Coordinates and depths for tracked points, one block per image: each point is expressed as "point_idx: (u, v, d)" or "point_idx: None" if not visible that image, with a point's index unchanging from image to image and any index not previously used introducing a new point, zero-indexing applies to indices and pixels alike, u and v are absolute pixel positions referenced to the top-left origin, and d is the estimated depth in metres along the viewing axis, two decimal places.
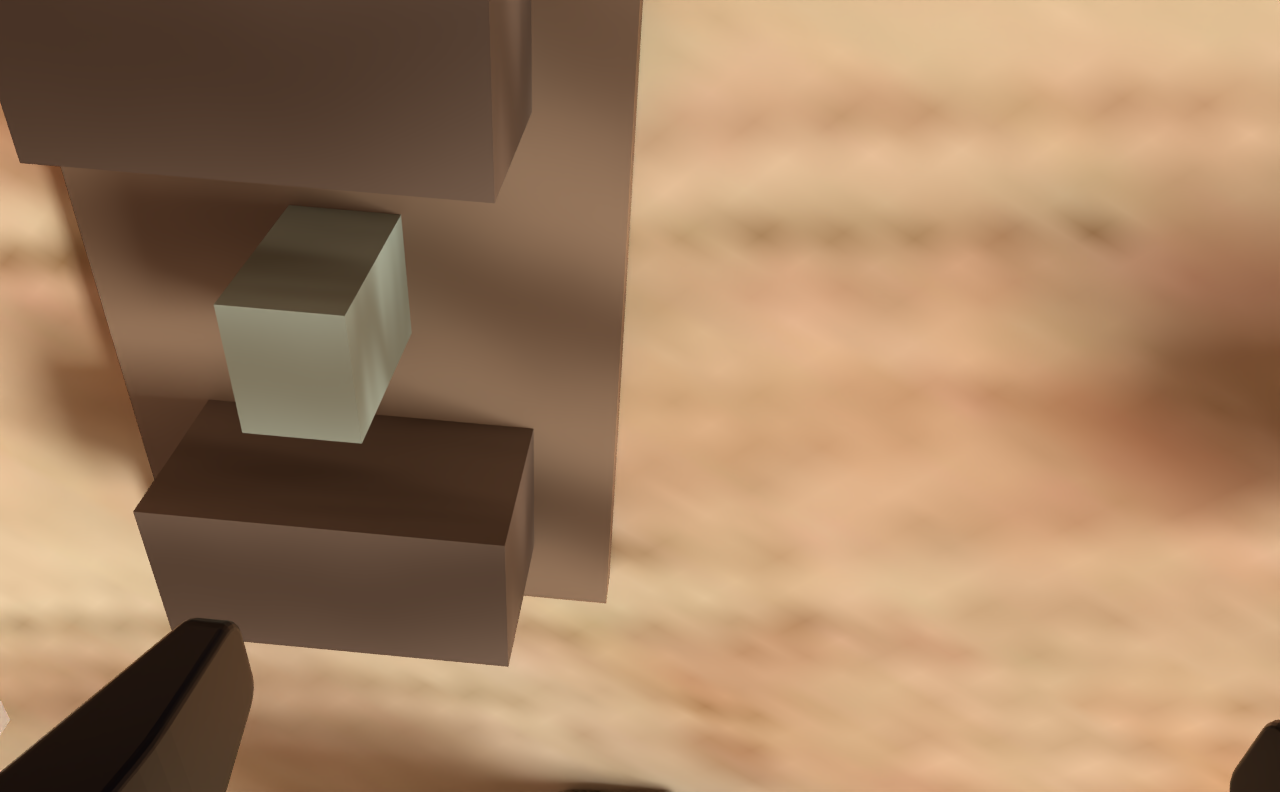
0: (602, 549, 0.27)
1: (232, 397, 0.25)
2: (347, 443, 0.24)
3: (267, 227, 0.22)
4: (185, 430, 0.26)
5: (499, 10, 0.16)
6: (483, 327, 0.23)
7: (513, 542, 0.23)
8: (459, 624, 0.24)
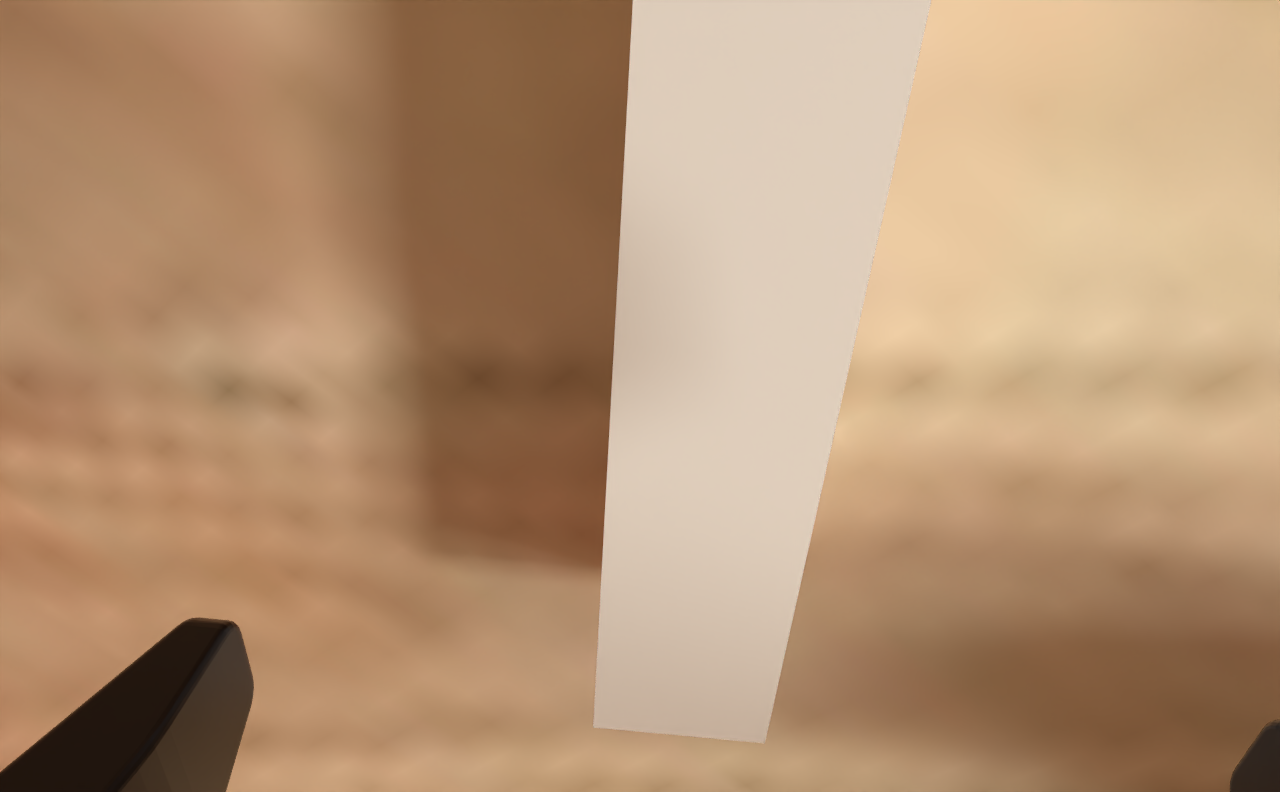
0: None
1: None
2: None
3: None
4: None
5: None
6: None
7: None
8: None
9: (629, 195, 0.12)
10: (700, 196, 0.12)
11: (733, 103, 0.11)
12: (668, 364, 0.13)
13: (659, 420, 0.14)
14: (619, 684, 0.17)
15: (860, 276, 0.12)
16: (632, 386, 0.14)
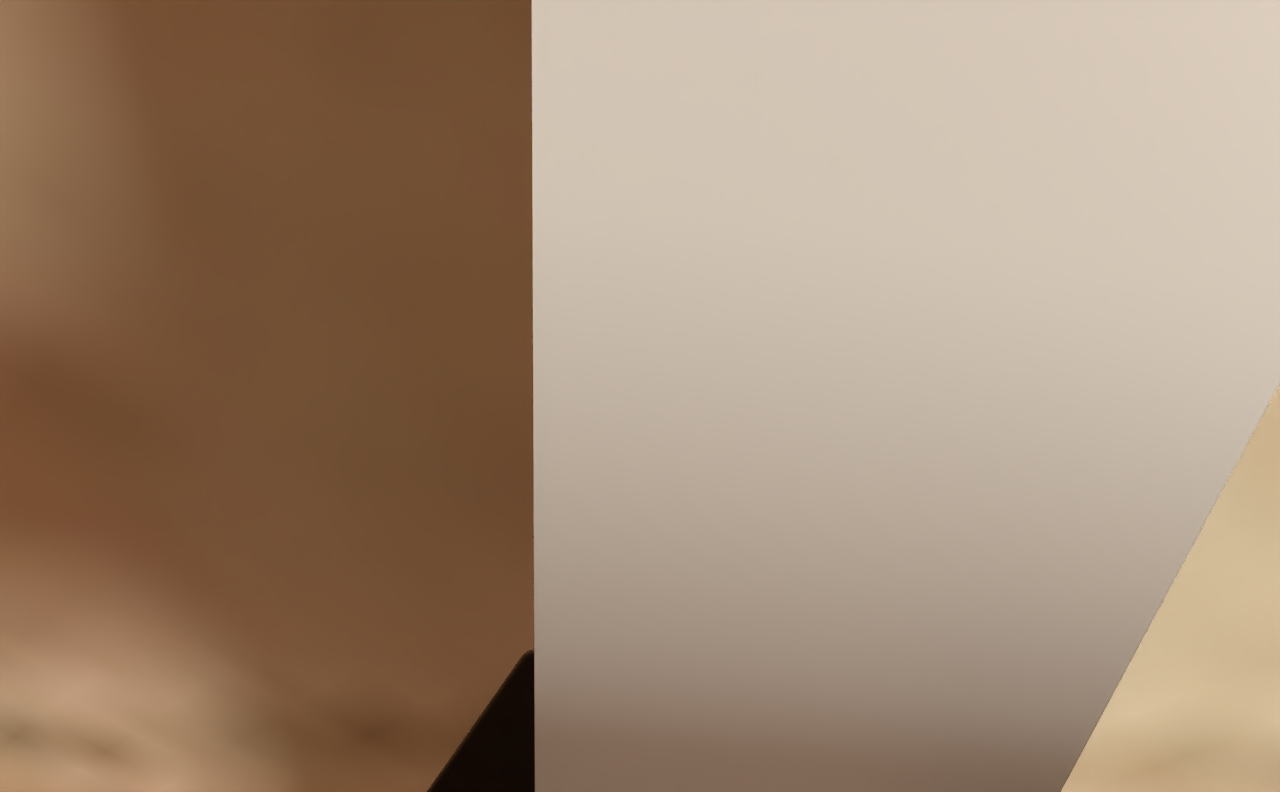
0: None
1: None
2: None
3: None
4: None
5: None
6: None
7: None
8: None
9: (549, 762, 0.06)
10: (688, 767, 0.06)
11: (757, 647, 0.05)
12: None
13: None
14: None
15: None
16: None
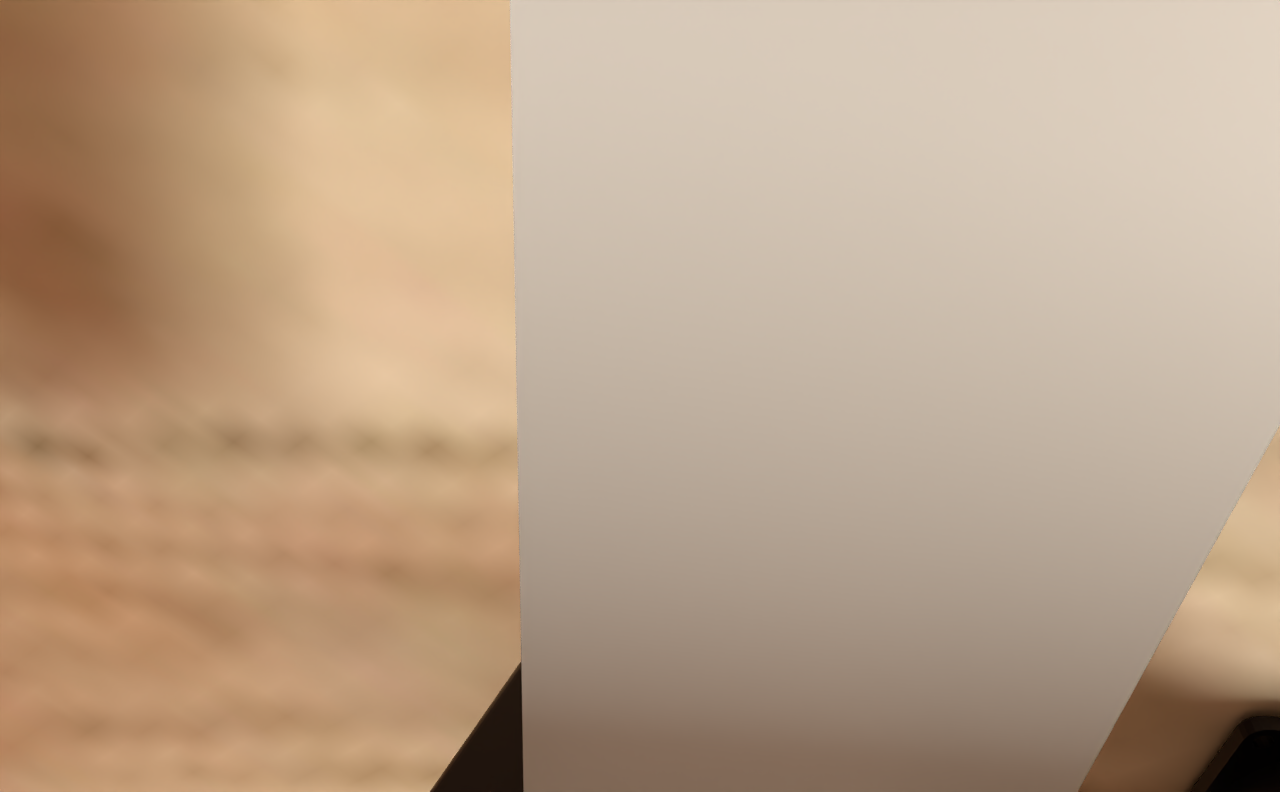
0: None
1: None
2: None
3: None
4: None
5: None
6: None
7: None
8: None
9: (538, 790, 0.06)
10: None
11: (750, 676, 0.05)
12: None
13: None
14: None
15: None
16: None
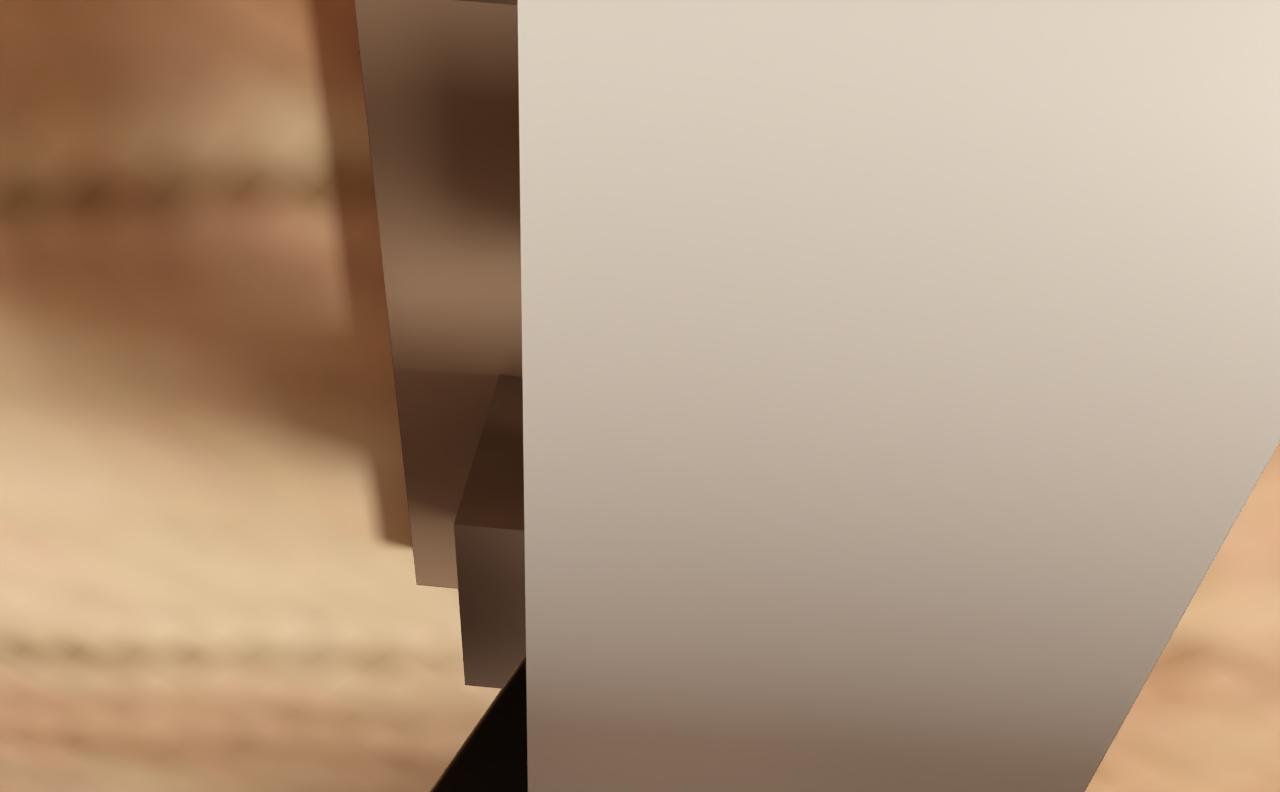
0: None
1: None
2: None
3: None
4: (459, 415, 0.20)
5: None
6: None
7: None
8: None
9: (542, 788, 0.06)
10: None
11: (756, 672, 0.05)
12: None
13: None
14: None
15: None
16: None
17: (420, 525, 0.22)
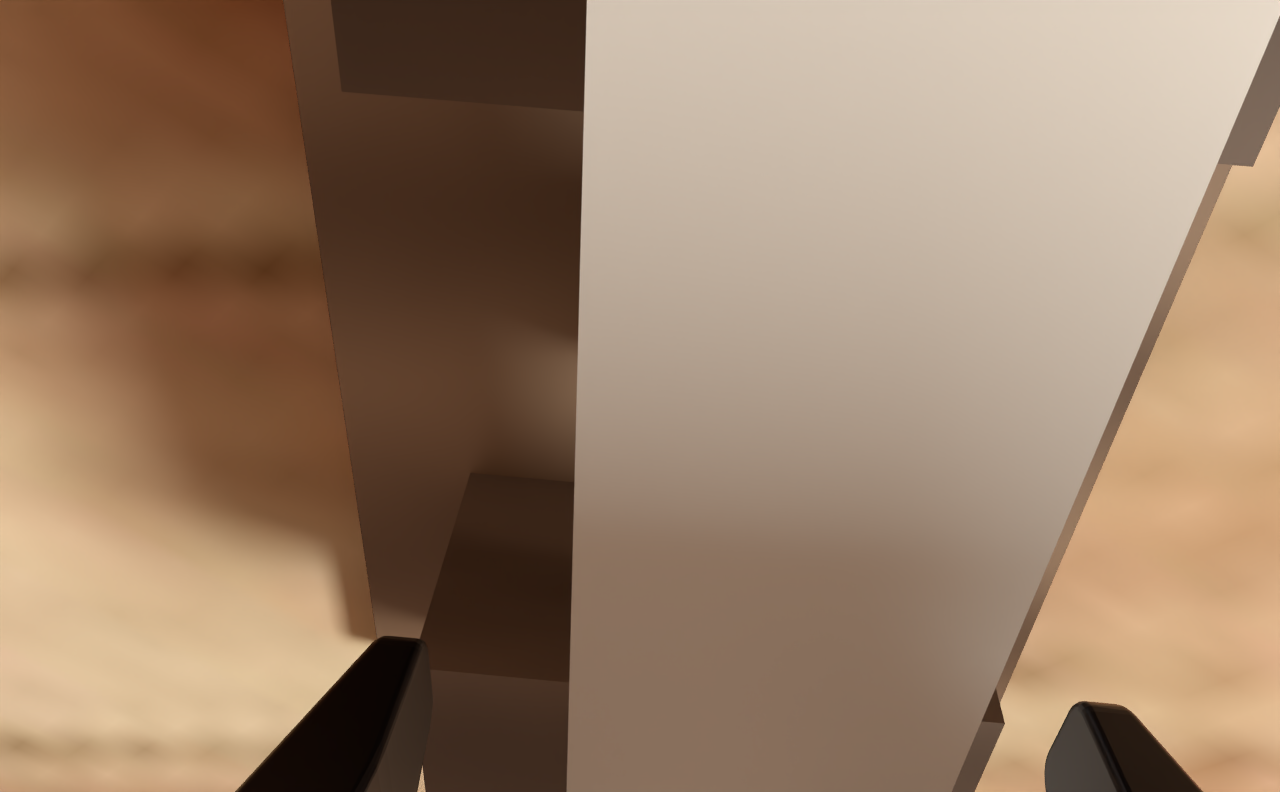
0: (1000, 677, 0.19)
1: (507, 470, 0.17)
2: None
3: None
4: (426, 515, 0.18)
5: None
6: None
7: None
8: None
9: (584, 600, 0.07)
10: (705, 604, 0.07)
11: (763, 483, 0.06)
12: None
13: None
14: None
15: (970, 713, 0.07)
16: None
17: (386, 627, 0.20)
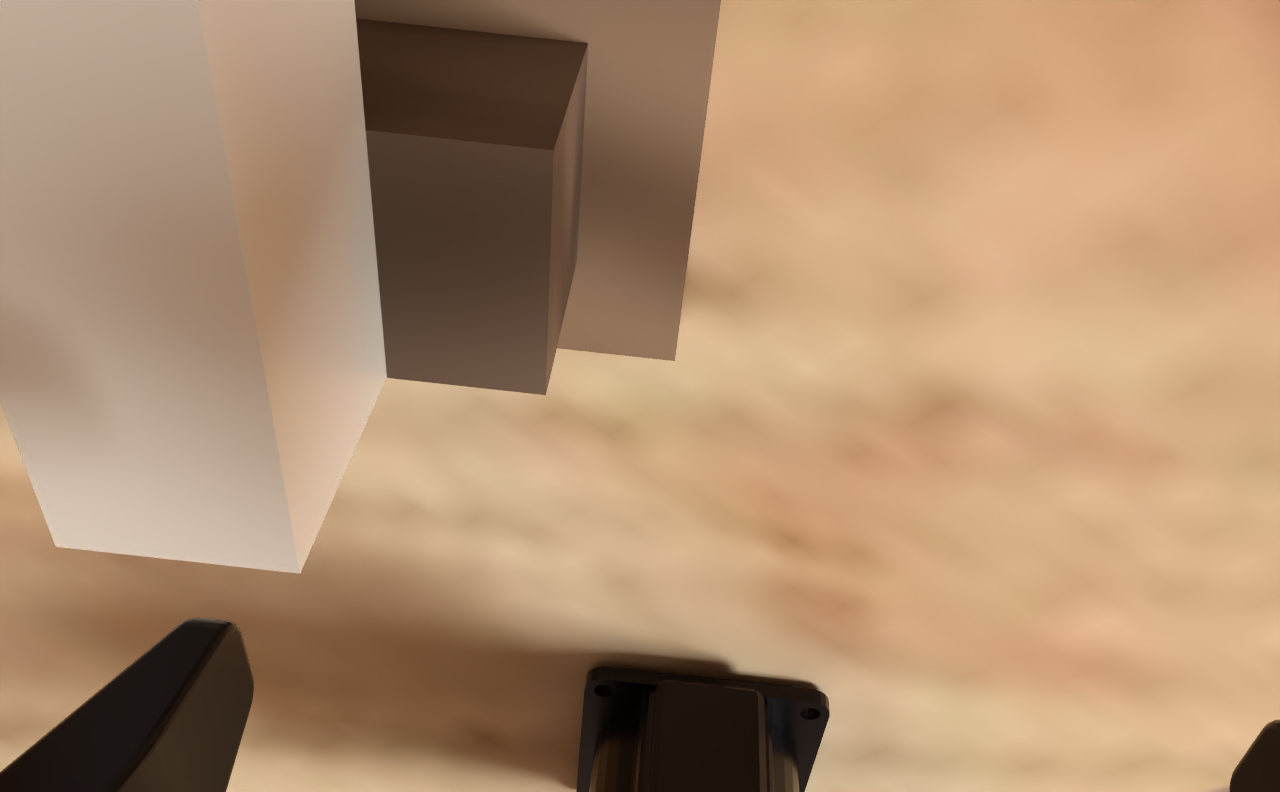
0: (676, 267, 0.19)
1: None
2: None
3: None
4: None
5: None
6: None
7: (561, 179, 0.15)
8: (472, 313, 0.15)
9: None
10: None
11: None
12: None
13: None
14: (59, 473, 0.12)
15: None
16: None
17: None
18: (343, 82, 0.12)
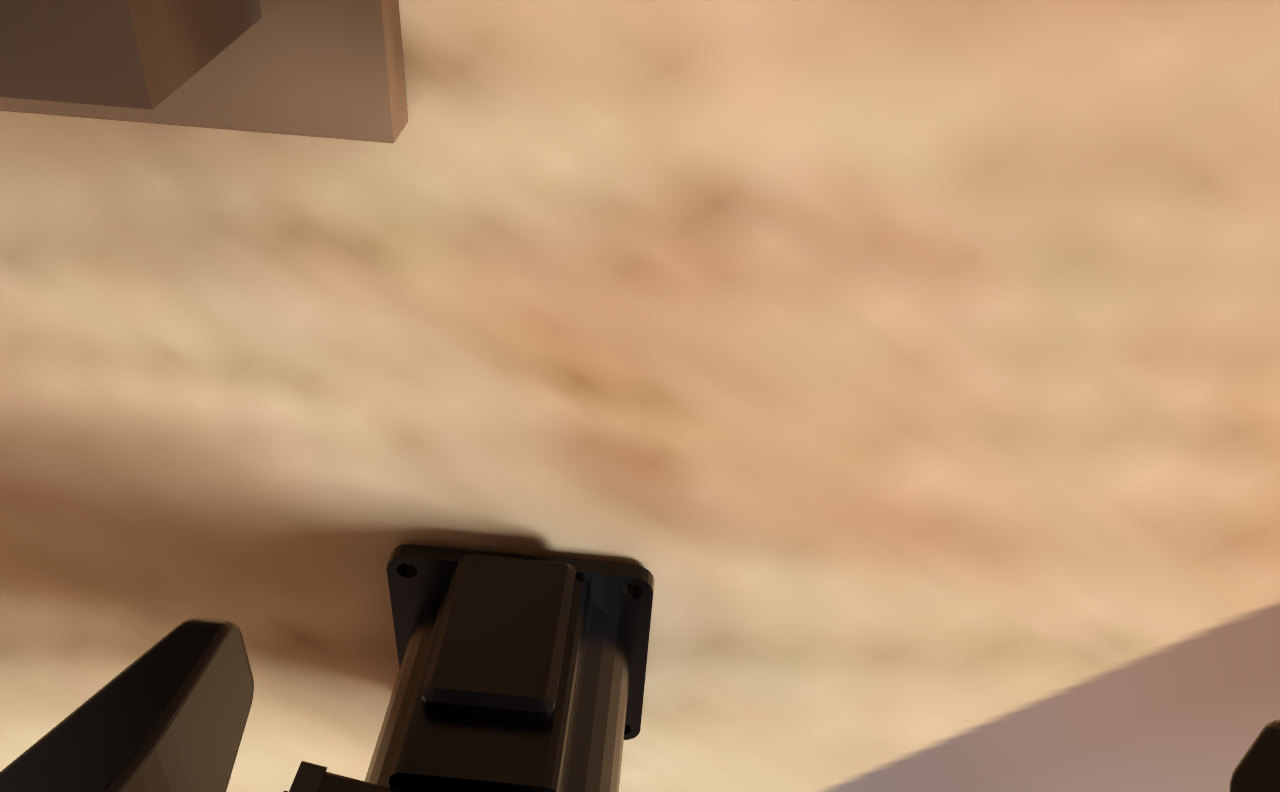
0: (372, 21, 0.17)
1: None
2: None
3: None
4: None
5: None
6: None
7: None
8: None
9: None
10: None
11: None
12: None
13: None
14: None
15: None
16: None
17: None
18: None
